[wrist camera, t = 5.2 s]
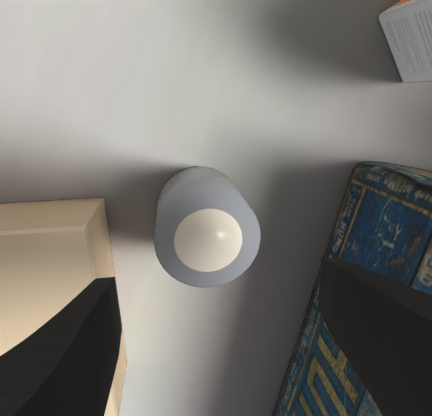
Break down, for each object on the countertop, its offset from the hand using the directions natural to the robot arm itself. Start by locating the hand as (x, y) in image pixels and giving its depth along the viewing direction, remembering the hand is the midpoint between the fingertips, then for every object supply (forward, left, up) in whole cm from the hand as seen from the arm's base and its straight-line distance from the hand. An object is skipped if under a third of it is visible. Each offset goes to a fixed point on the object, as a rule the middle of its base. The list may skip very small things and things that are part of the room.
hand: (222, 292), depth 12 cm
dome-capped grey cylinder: (0, 0, -9) cm, 9 cm away
